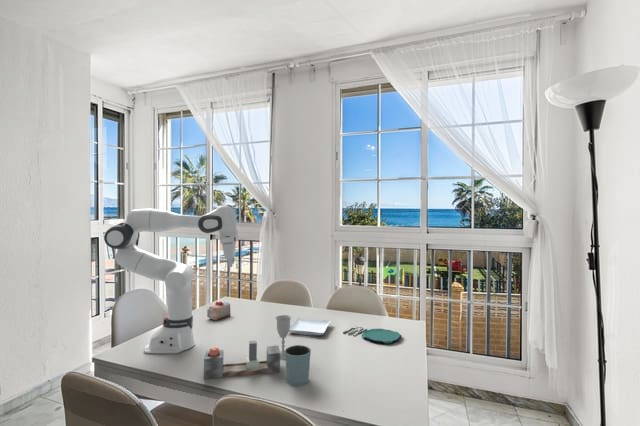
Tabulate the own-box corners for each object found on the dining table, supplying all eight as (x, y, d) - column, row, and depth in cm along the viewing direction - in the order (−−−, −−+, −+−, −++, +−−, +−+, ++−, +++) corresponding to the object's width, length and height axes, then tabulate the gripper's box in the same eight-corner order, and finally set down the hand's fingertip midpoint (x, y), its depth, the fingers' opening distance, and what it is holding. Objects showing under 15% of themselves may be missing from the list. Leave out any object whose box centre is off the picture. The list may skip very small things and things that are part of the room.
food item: (215, 321, 206) (215, 305, 206) (205, 319, 210) (206, 303, 210) (231, 316, 218) (231, 300, 218) (222, 313, 222) (222, 298, 222)
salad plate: (285, 335, 186) (285, 328, 186) (297, 323, 207) (297, 317, 207) (323, 339, 181) (323, 332, 181) (331, 326, 202) (332, 320, 202)
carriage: (246, 369, 141) (246, 344, 140) (246, 363, 146) (246, 340, 146) (259, 368, 142) (259, 344, 142) (258, 362, 147) (258, 339, 147)
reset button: (208, 361, 138) (209, 351, 138) (209, 357, 141) (209, 347, 141) (218, 360, 139) (218, 350, 139) (218, 356, 142) (219, 347, 142)
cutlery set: (390, 348, 169) (390, 343, 170) (339, 335, 187) (339, 331, 187) (406, 337, 185) (406, 333, 185) (358, 326, 203) (358, 322, 203)
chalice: (283, 352, 162) (284, 314, 162) (293, 356, 158) (294, 317, 158) (271, 357, 157) (272, 317, 157) (282, 361, 152) (283, 320, 152)
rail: (203, 379, 135) (204, 358, 135) (205, 370, 143) (206, 350, 143) (280, 372, 142) (280, 353, 142) (277, 363, 150) (278, 345, 150)
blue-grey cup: (310, 374, 141) (310, 345, 141) (310, 386, 131) (310, 355, 131) (285, 374, 141) (285, 345, 141) (283, 386, 131) (284, 355, 130)
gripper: (224, 236, 182) (227, 262, 183) (219, 240, 162) (222, 269, 162) (237, 235, 183) (239, 261, 184) (233, 239, 163) (236, 268, 163)
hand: (231, 265), depth 173 cm, fingers open, 8 cm apart
